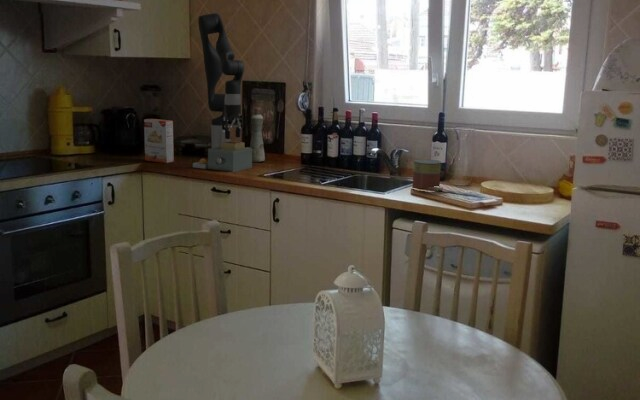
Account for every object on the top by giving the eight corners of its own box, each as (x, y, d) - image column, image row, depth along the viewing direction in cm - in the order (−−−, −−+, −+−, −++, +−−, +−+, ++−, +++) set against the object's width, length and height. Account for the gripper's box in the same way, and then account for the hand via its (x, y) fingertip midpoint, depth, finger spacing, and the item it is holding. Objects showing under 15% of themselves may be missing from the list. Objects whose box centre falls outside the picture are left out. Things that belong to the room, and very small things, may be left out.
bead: (202, 166, 317) (202, 157, 316) (209, 166, 315) (209, 158, 314) (197, 167, 313) (197, 158, 312) (204, 167, 312) (204, 159, 311)
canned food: (436, 187, 282) (438, 159, 279) (441, 192, 271) (443, 163, 268) (410, 187, 281) (411, 159, 279) (414, 192, 270) (416, 163, 268)
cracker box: (144, 160, 331) (143, 119, 327) (152, 159, 337) (151, 118, 332) (166, 163, 325) (165, 120, 321) (174, 162, 330) (173, 120, 326)
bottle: (257, 163, 333) (257, 107, 328) (244, 161, 339) (244, 106, 333) (268, 161, 340) (269, 107, 334) (255, 159, 345) (256, 105, 340)
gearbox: (227, 165, 324) (227, 140, 321) (252, 168, 317) (252, 142, 315) (205, 170, 308) (205, 143, 305) (230, 173, 302) (230, 146, 299)
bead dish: (201, 166, 319) (201, 161, 318) (213, 167, 316) (213, 162, 315) (192, 168, 313) (192, 163, 312) (205, 169, 310) (204, 164, 309)
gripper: (234, 102, 317) (234, 136, 320) (217, 103, 304) (217, 138, 308) (247, 103, 314) (247, 137, 317) (230, 104, 301) (230, 140, 304)
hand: (232, 138), depth 312 cm, fingers open, 8 cm apart
